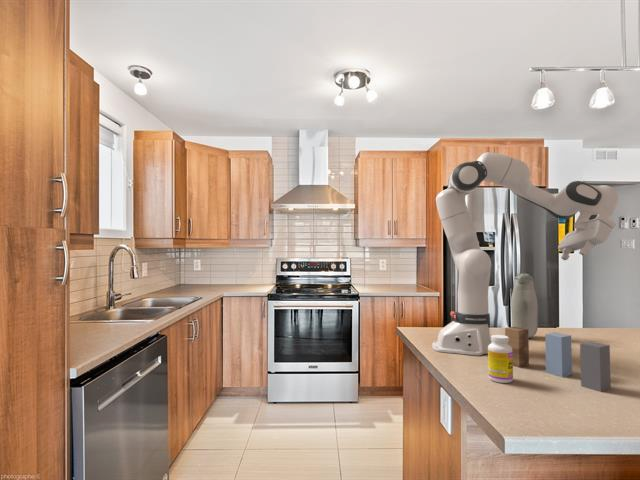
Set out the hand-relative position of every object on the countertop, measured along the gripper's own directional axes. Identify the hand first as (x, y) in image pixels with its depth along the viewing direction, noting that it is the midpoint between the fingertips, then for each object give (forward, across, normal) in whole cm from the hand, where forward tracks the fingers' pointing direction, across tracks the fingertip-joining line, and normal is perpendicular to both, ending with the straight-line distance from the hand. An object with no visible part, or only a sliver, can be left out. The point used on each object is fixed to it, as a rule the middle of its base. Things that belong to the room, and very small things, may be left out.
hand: (572, 256), depth 134 cm
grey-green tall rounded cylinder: (+22, -40, +18) cm, 49 cm away
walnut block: (+43, -3, +2) cm, 43 cm away
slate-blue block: (+40, +6, +10) cm, 41 cm away
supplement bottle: (+53, +11, -7) cm, 54 cm away
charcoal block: (+40, +18, +13) cm, 46 cm away
